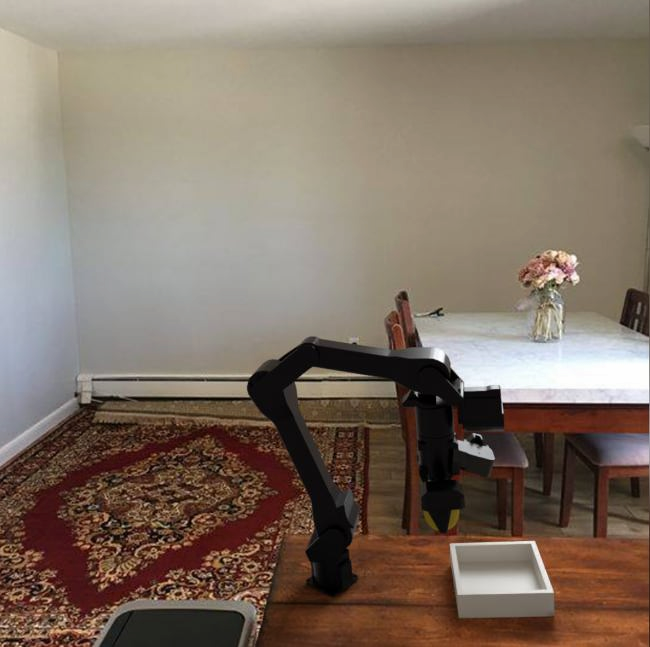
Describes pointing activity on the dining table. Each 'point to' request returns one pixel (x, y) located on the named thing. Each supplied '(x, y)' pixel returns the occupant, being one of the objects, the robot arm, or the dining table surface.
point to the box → (500, 580)
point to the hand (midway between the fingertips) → (442, 523)
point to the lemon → (452, 521)
